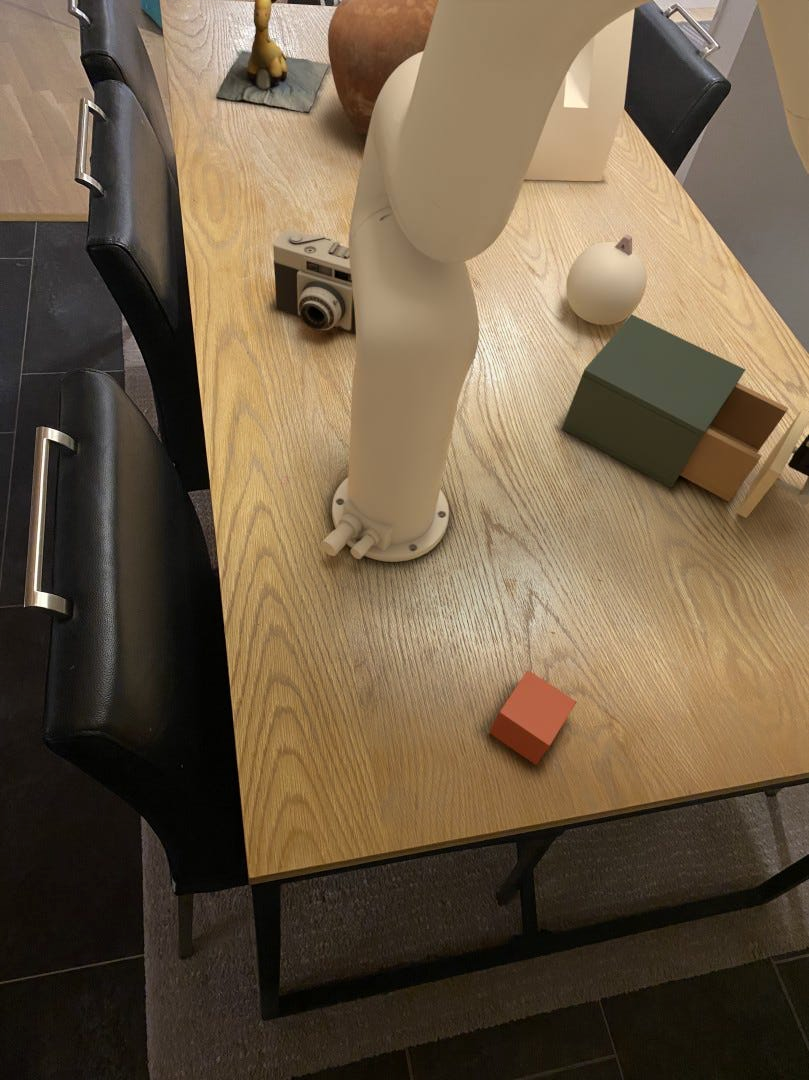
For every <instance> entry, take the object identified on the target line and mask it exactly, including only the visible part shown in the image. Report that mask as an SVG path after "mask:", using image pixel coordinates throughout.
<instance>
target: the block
mask: <svg viewBox="0 0 809 1080" xmlns="http://www.w3.org/2000/svg"><path fill="white" fill-rule="evenodd" d="M576 704H577V701H576V700H575V699H573V698H572V697H571V696H569V695H567V694H566V693H564V692H563V691H561V690H560V689H559V688H556V687H555V686H553V685H552V684H551V683H549V682H547V681H546V680H544V679H543V678H541V677H540V676H538V675H537V674H535V673H534V672H532V671H531V670H529V669H527V670H526V671H525V673H524V675H523V676H522V678H521V679H520V681H519V682H518V684H517V685H516V687H514V689H513V691H512V692H511V694H510V695H509V697H508V698H507V700H506V701H505V703H504V704H503V706H502V707H501V709H500V710H499V712H498V714H497V716H496V717H495V720H494V722H493V724H492V726H491V728H490V730H489V734H490V735H491V736H493V737H494V738H496V739H497V740H499V741H500V742H502V743H503V744H504V745H506V746H507V747H508V748H510V749H512V750H513V751H514V752H516V753H517V754H519V755H520V756H521V757H523V758H524V759H526V760H528V761H529V762H531V763H532V764H533V765H535V766H537V765H538V763H539V762H540V760H541V759H542V758H543V757H544V755H545V754H546V752H547V751H548V750H549V748H550V746H551V745H552V744H553V742H554V740H555V739H556V737H557V735H558V734H559V732H560V730H561V729H562V727H563V725H564V724H565V722H566V720H567V719H568V717H569V715H570V713H572V710H573V709H574V707H575V705H576Z"/></svg>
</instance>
